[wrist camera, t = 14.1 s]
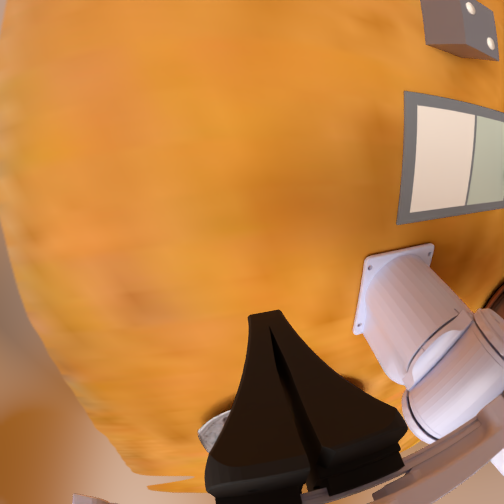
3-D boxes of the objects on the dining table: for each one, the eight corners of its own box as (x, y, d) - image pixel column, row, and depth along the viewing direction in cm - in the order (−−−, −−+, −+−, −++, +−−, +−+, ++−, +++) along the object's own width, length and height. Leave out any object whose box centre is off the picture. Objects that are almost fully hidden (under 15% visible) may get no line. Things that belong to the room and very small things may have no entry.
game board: (529, 203, 24) (530, 204, 24) (396, 224, 22) (397, 225, 22) (540, 126, 18) (541, 126, 18) (403, 91, 16) (405, 91, 16)
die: (460, 57, 15) (499, 61, 11) (425, 44, 14) (467, 44, 10) (455, 13, 12) (493, 11, 9) (419, -3, 12) (458, -11, 8)
